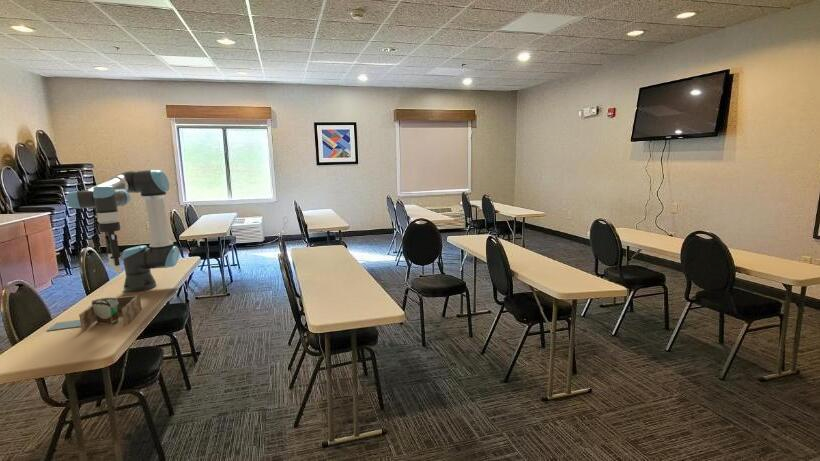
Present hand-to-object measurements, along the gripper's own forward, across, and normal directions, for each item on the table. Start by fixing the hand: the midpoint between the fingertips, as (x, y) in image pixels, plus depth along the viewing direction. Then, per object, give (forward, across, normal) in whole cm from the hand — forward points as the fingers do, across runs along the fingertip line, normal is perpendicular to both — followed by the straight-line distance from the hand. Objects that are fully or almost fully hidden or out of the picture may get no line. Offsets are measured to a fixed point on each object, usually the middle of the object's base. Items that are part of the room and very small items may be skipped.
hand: (116, 270), depth 179 cm
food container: (+23, -1, -4) cm, 23 cm away
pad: (+22, -9, -18) cm, 30 cm away
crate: (+22, -3, -3) cm, 23 cm away
